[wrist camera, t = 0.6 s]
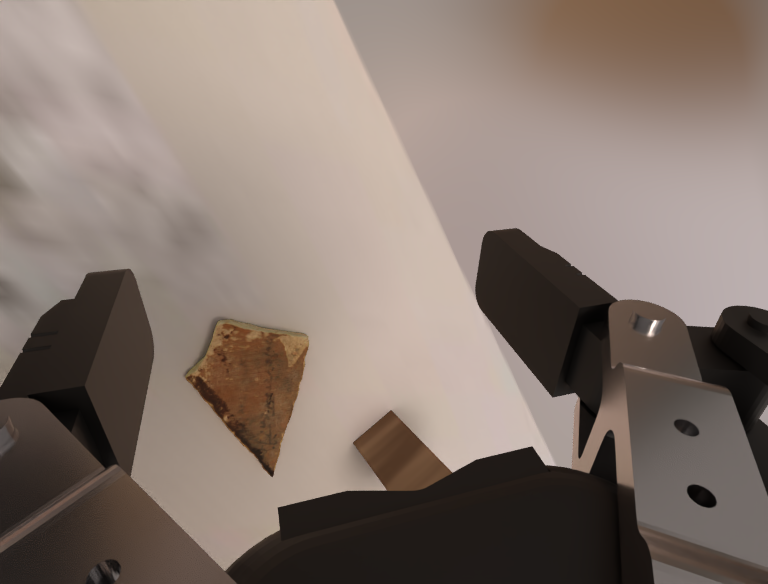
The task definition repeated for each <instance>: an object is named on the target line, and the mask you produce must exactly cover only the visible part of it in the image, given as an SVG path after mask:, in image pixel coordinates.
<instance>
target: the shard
mask: <svg viewBox="0 0 768 584" xmlns="http://www.w3.org/2000/svg"><path fill="white" fill-rule="evenodd" d="M308 347H309V341H308V336H307V335H305V334H303V333H294V332H288V331H281V330H274V329H266V328H262V327H258V326H254V325H251V324H248V323H242V322H237V321H234V320H232V319H230V320H227V319H226V320H219V321H218V322H217V324H216V327H215V330H214V333H213V338H212V340H211V343H210V345H209V348H208V351H207V353H206V356H205V357H204V358H203V359H201V360H200V361H199V362H198V363H197V364H196V365H195V366H194V367H193V368H191V370H190V371H189V372H188V373H187V375H186V376H185V378H186V379H187V381H188V382H190V383H191V384H192V385H193V387H194V388H195V389H196V390H197V391H198V392H199V394H200V395H201V397H202V398H203V399H204V400H205V401H206V402H207V403H208V404H209V405H210V406H211V407H212V409H213V411H214V412H215V413H216V414H217V415H218V416H219V417H220V418H221V419H222V421H223V422H224V423H225V425H226V426H227V428H228V429H229V430H230V431H231V432H232V433H233V434H234V436H235V437H236V438H237V439H238V440H239V441H240V442H241V443H242V445H243V446H244V447H246V448H247V449H248V450H249V451H250V452H251V453H252V454H254V456H255V457H256V458H257V459H258V460H259V462H260V463H261V464H262V467H263V469H264V470H265V471H267V473H268V474H269V475H270V476H271V477H273V475H274V470H275V467H276V463H277V459H278V457H279V453H280V447H281V442H282V439H283V436H284V433H285V430H286V427H287V424H288V422H289V420H290V417H291V414H292V410H293V406H294V403H295V400H296V398H297V395H298V391H299V384H300V382H301V380H302V375H303V371H304V367H305V361H304V359H305V356H306V353H307V350H308Z"/></svg>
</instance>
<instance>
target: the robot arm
mask: <svg viewBox="0 0 768 584" xmlns="http://www.w3.org/2000/svg"><path fill="white" fill-rule="evenodd" d="M475 288H476V289H475V291H476V299H477V302H478V305H479V307H480V309H481V310H482V311H483V313H484V314H485V315H486V316H487V318H488V319H489V320H490V321H491V323H492V324H493V325H494V326H495V327H496V329H497V330H498V331H499V332H500V334H501V335H502V336H503V337H504V338H505V340H506V341H507V342H508V343H509V345H510V346H511V347H512V348H513V349H514V351H515V352H516V353H517V354H518V356H519V357H520V358H521V359H522V360H523V362H524V363H525V364H526V365H527V367H528V368H529V369H530V370H531V371H532V373H533V374H534V375H535V376H536V378H537V379H538V380H539V381H540V383H542V385H543V386H544V387H545V389H546V390H547V391H548V392H549V394H550V395H551V396H552V397H557V396H562V395H566V394H571V393H576V394H577V395H578V400H577V402H576V405H575V410H574V431H573V453H572V469H570V468H565V467H557V466H548V465H545V464H544V463H543V461H542V460H541V458H540V457H539V455H538V454H537V453H536V451H535V450H534V448H533V447H528V448H523V449H519V450H515V451H511V452H507V453H503V454H498V455H494V456H490V457H486V458H482V459H478V460H475V461H473V462H471V463H470V464H468V465H466V466H464V467H462V468H461V469H459V470H457V471H455V472H453V473H452V474H450V475H448V476H446V477H444V478H442V479H441V480H439V481H437V482H435V483H433V484H432V485H430V486H428V487H426V488H424V489H421V490H414V491H345V492H341V493H336V494H332V495H328V496H324V497H320V498H316V499H312V500H307V501H303V502H299V503H295V504H291V505H287V506H282V507H278V514H279V523H280V530H279V531H278V532H276V533H274V534H272V535H270V536H268V537H267V538H265V539H264V540H262V541H261V542H259V543H258V544H256V545H255V546H253V547H252V548H250V549H249V550H248V551H247V552H245V553H244V554H243V555H242V556H241V557H240V558H238V559H237V560H236V561H235V562H234V563H233V564H232V565H231V566H230V567H229V568H228V569H227V570H226V571H224V570H223V569H222V568H221V567H220V566H219V565H218V564H217V563H216V562H215V561H214V560H213V559H212V558H211V557H210V556H209V555H208V554H207V553H206V552H205V551H204V550H203V549H202V548H201V547H200V546H199V545H198V544H197V543H196V542H195V541H194V540H193V539H192V538H191V537H190V536H189V535H188V534H187V533H186V532H185V531H184V530H183V529H182V528H181V527H180V526H179V525H178V524H177V523H176V522H175V521H174V520H173V519H172V518H171V517H170V516H169V515H168V514H167V513H166V512H165V511H164V510H163V509H162V508H161V507H160V506H159V505H158V504H157V503H156V502H155V501H154V500H153V499H152V498H151V497H150V496H149V495H148V494H147V493H146V492H145V491H144V490H143V489H142V488H141V487H140V486H139V485H138V484H137V483H136V482H135V481H134V480H133V479H132V478H131V477H130V476H131V471H132V465H133V460H134V455H135V450H136V445H137V440H138V435H139V430H140V425H141V420H142V414H143V409H144V404H145V399H146V394H147V389H148V384H149V379H150V374H151V369H152V363H153V358H154V344H153V336H152V332H151V328H150V325H149V321H148V318H147V315H146V311H145V308H144V305H143V302H142V298H141V295H140V292H139V289H138V285H137V282H136V279H135V276H134V274H133V272H132V271H131V270H130V269H122V270H112V271H103V272H93V273H88V274H87V275H86V277H85V279H84V281H83V283H82V285H81V287H80V289H79V291H78V293H77V295H76V297H75V299H69V300H61V301H60V302H59V303H58V304H56V305H55V306H54V307H53V308H51V309H50V310H49V311H47V312H46V313H45V314H44V315H42V316H41V317H40V319H39V321H38V323H37V324H36V326H35V328H34V330H33V331H32V333H31V338H28V340H27V342H26V344H25V345H24V347H23V349H22V350H23V353H20V354H19V356H18V358H17V359H16V361H15V363H14V365H13V366H12V368H11V370H10V372H9V373H8V375H7V377H6V379H5V380H4V382H3V384H2V386H1V387H0V584H768V426H767V425H766V424H765V423H763V422H762V421H761V420H760V419H759V418H760V416H761V415H762V413H763V412H764V410H765V408H766V407H767V405H768V311H767V310H763V309H759V308H755V307H748V306H731V307H728V308H725V309H724V310H723V312H722V313H721V315H720V317H719V320H718V321H717V323H716V326H715V327H697V326H686V324H685V323H684V322H683V320H682V319H681V318H680V317H679V316H677V315H676V314H675V313H673V312H671V311H669V310H668V309H665V308H664V307H661V306H659V305H656V304H652V303H650V302H645V301H640V300H620V301H618V300H616V299H615V298H614V297H613V296H611V295H610V294H609V293H608V292H606V291H605V290H604V289H602V288H601V287H600V286H598V285H597V284H596V283H595V282H593V281H592V280H591V279H590V278H588V277H587V276H586V275H582V272H580V271H579V270H578V269H577V268H575V267H574V266H571V264H570V263H569V262H567V261H566V260H565V259H564V258H562V257H561V256H560V255H559V254H557V253H555V252H553V251H551V250H548V249H546V248H543V247H541V246H540V245H538V244H537V243H536V242H535V241H534V240H532V239H531V238H530V237H529V236H527V235H526V234H525V233H523V232H522V231H521V230H519V229H517V228H514V229H504V230H496V231H488V232H487V233H486V234H485V235H484V237H483V242H482V247H481V254H480V260H479V267H478V273H477V280H476V287H475Z"/></svg>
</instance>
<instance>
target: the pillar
mask: <svg viewBox="0 0 768 584" xmlns="http://www.w3.org/2000/svg"><path fill="white" fill-rule="evenodd" d="M354 445H355V446H356V447H357V449H358V450H359V452H360V453H361V454H362V456H363V457H364V459H365V460H366V461H367V463H368V464H369V466H370V467H371V468H372V470H373V471H374V473H375V474H376V475H377V477H378V478H379V480H380V481H381V482H382V484H383V485H384V487H385V488H386V489H387V491H414V490H421V489H424V488H426V487H428V486H430V485H432V484H433V483H435V482H437V481H439V480H441V479H442V478H444V477H446V476H448V475H450V474H452V472H451V471H450V470H449V469H448V468H447V467H446V466H445V465H444V464H443V463H442V462H441V461H440V460H439V459H438V458H437V457H436V456H435V455H434V454H433V452H432V451H431V450H430V449H429V448H428V447H427V446H426V445H425V444H424V443H423V442H422V441H421V440H420V439H419V438H418V437H417V436H416V435H415V434H414V433H413V432H412V431H411V430H410V429H409V428H408V427H407V426H406V425H405V424H404V423H403V422H402V421H401V420H400V419H399V418H398V417H397V416H396V415H395V414H394V413H393V412H392V411H390V412H389V413H387V414H386V415H385V416H384V417H383V418H382V419H380V420H379V421H378V422H377V423H376V424H375V425H373V426H372V427H371V428H370V429H369V430H368V431H366V432H365V433H364V434H363V435H362V436H361V437H359V438H358V439H357V440H356V441H355V442H354Z"/></svg>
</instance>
